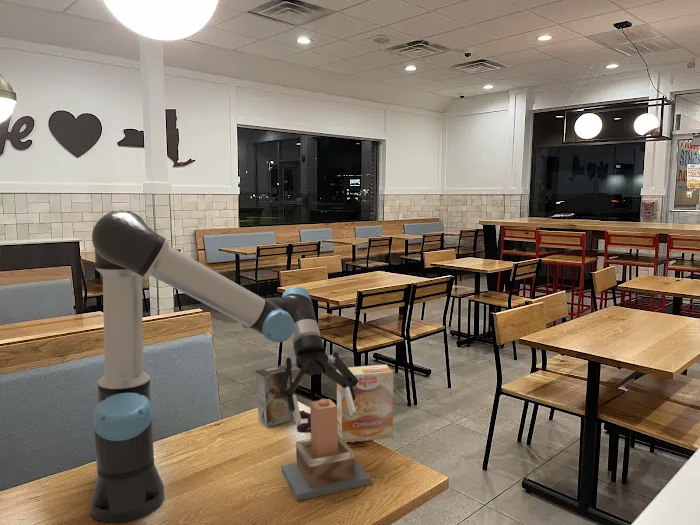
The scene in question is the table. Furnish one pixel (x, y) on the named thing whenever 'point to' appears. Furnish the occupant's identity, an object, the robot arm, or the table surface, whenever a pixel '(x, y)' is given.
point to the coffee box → (272, 396)
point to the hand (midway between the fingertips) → (326, 418)
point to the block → (324, 428)
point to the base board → (305, 492)
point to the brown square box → (325, 464)
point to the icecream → (304, 425)
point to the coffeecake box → (367, 405)
